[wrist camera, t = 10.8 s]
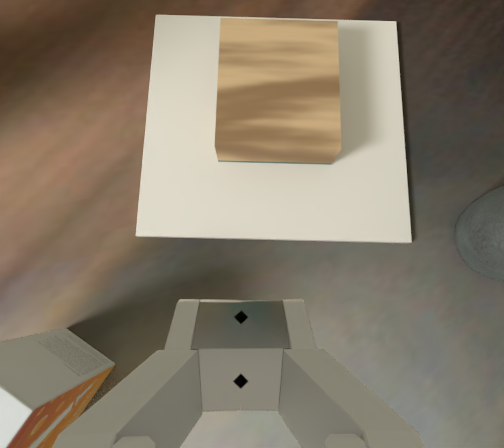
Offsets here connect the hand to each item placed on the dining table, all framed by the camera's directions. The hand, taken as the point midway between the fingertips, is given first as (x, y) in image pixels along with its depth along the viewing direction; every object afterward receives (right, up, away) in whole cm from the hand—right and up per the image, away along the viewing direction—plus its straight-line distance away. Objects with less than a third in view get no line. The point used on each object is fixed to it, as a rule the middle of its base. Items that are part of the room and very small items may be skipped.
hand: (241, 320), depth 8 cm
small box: (-17, -13, +24) cm, 32 cm away
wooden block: (+3, +9, +25) cm, 27 cm away
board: (+3, +14, +29) cm, 32 cm away
